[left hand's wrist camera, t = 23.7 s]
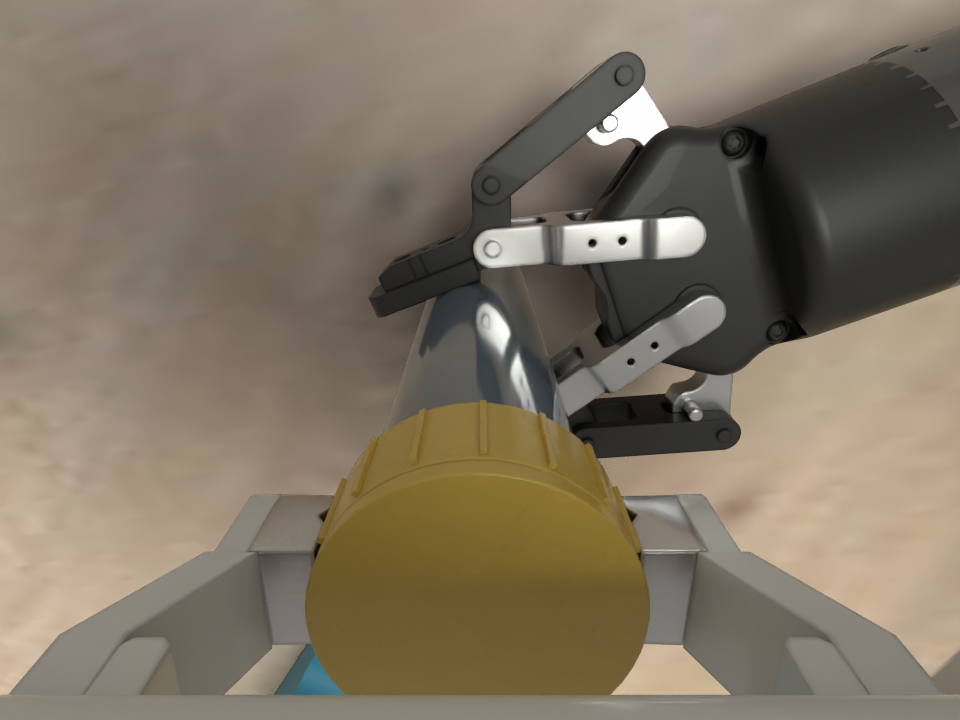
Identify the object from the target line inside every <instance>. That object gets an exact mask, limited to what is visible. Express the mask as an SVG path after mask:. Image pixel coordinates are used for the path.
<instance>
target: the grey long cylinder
mask: <svg viewBox="0 0 960 720" xmlns="http://www.w3.org/2000/svg"><path fill="white" fill-rule="evenodd" d="M480 400H486V403H495V404H502V405H508V406H514V407H517V408H521V409H524V410H528V411H531V412H534V413H536V414H539V412H542V413H544V414H546V418H548V419H550V420H552V421H554V422H555V423H557V424H559V425H561V426H562V427H564V428H566V429H567V430H568V431H570V432H571V433H572V434H573V430H572V427H571V424H570V421H569V418H568V415H567V411H566V408H565V405H564V402H563V399H562V396H561V392H560V389H559V386H558V383H557V380H556V377H555V373H554V370H553V367H552V364H551V361H550V358H549V354H548V351H547V348H546V345H545V342H544V339H543V335H542V332H541V329H540V326H539V323H538V320H537V316H536V313H535V310H534V307H533V304H532V300H531V297H530V294H529V291H528V288H527V285H526V281H525V278H524V275H523V272H522V270H521V268H520V266H512V267H500V268H486V269H484V270H481V279H480V280H478V281H475V282H473V283H470V284H468V285H465V286H462V287H459V288H456V289H453V290H451V291H449V292H447V293H444V294H442V295H439V296H437V297H434V298H431V299H429V300H426V303H425V306H424V309H423V312H422V316H421V319H420V322H419V325H418V328H417V331H416V334H415V337H414V340H413V343H412V346H411V349H410V352H409V355H408V359H407V362H406V365H405V368H404V371H403V374H402V377H401V380H400V383H399V386H398V389H397V392H396V395H395V398H394V401H393V405H392V408H391V411H390V414H389V417H388V420H387V423H386V426H385V429H384V432H383V433H385V432H386V431H388V430H389V429H391V428H392V427H394V426H395V425H397V424H398V423H400V422H402V421H404V420H406V419H408V418H410V417H412V416H414V415H417V414H419V410H422V409H426V411H428V410H431V409H434V408H438V407H443V406H448V405H452V404H462V403H480ZM573 435H574V434H573Z"/></svg>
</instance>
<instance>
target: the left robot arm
mask: <svg viewBox="0 0 960 720" xmlns="http://www.w3.org/2000/svg"><path fill="white" fill-rule="evenodd" d="M621 497H622V500H623V502H624V505H625V507H626V510H627V512H628V515H629V517H630V520H631V523H632V525H633V528H634V530H635V533H636V535H637V538H638V540H639V543H640V545H641V548H642V549H641V552H639V553H637V554H638V556H639V559H640V562H641V564H642V567H643V570H644V573H645V576H646V579H647V583H648V589H649V595H650V619H649V624H648V630H647V636H646V638H645V641H644V644H665V645H684V646H683V648H684V649H685V650H686V651H687V652H688V653H689V654H690V655H691V656H693V657H694V658H695V659H696V660H697V661H698V662H699V663H700V664H701V665H702V666H703V667H704V668H705V669H706V670H707V671H708V672H709V673H710V674H711V675H712V676H713V677H714V678H715V679H716V680H717V681H718V682H719V683H720V684H721V685H722V686H723V687H724V688H725V689H726V690H727V691H728V692H729V693H730V694H731V695H224V694H225V693H226V692H227V691H228V690H229V689H230V688H231V687H232V686H233V685H234V684H235V683H236V682H237V681H238V680H239V679H241V678H242V677H243V676H244V675H245V674H246V673H247V672H248V671H249V670H250V669H251V668H252V667H253V666H254V665H255V664H256V663H257V662H258V661H259V660H260V659H261V658H262V657H263V656H264V655H265V654H266V653H267V652H268V651H269V650H270V649H272V645H290V644H311V641H310V637H309V634H308V630H307V626H306V615H305V598H306V588H307V584H308V580H309V576H310V572H311V569H312V567H313V564H314V562H315V559H316V557H317V554H318V551H319V549H320V546H321V544H318V543H316V541H317V539H318V536H319V534H320V531H321V529H322V526H323V524H324V521H325V519H326V516H327V514H328V511H329V509H330V506H331V504H332V501H333V499H334V495H286V494H284V495H281V494H255V495H253V496H251V497H250V498H249V499H248V500H247V502H246V503H245V505H244V506H243V508H242V509H241V511H240V513H239V514H238V516H237V517H236V519H235V520H234V522H233V523H232V525H231V526H230V528H229V530H228V531H227V533H226V534H225V536H224V537H223V539H222V540H221V542H220V543H219V545H218V547H217V548H216V550H215V551H214V552H204V553H202V554H201V555H199V556H197V557H195V558H194V559H192V560H190V561H188V562H187V563H185V564H183V565H181V566H179V567H178V568H176V569H174V570H172V571H171V572H169V573H167V574H165V575H164V576H162V577H160V578H158V579H157V580H155V581H153V582H151V583H150V584H148V585H146V586H144V587H142V588H141V589H139V590H137V591H135V592H134V593H132V594H130V595H128V596H127V597H125V598H123V599H121V600H120V601H118V602H116V603H114V604H113V605H111V606H109V607H107V608H105V609H104V610H102V611H100V612H98V613H97V614H95V615H93V616H91V617H90V618H88V619H86V620H84V621H83V622H81V623H79V624H77V625H76V626H74V627H72V628H70V629H68V630H67V631H65V632H63V633H61V634H60V635H59V636H58V637H57V638H56V639H55V640H54V642H53V643H52V644H51V645H50V646H49V647H48V649H47V650H46V651H45V652H44V653H43V654H42V656H41V657H40V658H39V659H38V660H37V662H36V663H35V664H34V665H33V666H32V667H31V669H30V670H29V671H28V672H27V673H26V674H25V676H24V677H23V678H22V679H21V680H20V682H19V683H18V684H17V685H16V686H15V687H14V689H13V690H12V691H11V692H10V693H9V694H8V695H0V720H960V695H945V694H944V693H943V692H942V690H941V689H940V688H939V687H938V686H937V684H936V683H935V682H934V681H933V680H932V678H931V677H930V676H929V675H928V674H927V672H926V671H925V670H924V669H923V668H922V666H921V665H920V664H919V663H918V662H917V660H916V659H915V658H914V657H913V656H912V654H911V653H910V652H909V651H908V650H907V648H906V647H905V646H904V645H903V644H902V642H901V641H900V640H899V639H898V638H897V636H896V635H894V634H892V633H890V632H889V631H887V630H885V629H883V628H882V627H880V626H878V625H876V624H875V623H873V622H871V621H870V620H868V619H866V618H864V617H863V616H861V615H859V614H857V613H856V612H854V611H852V610H850V609H849V608H847V607H845V606H843V605H842V604H840V603H838V602H836V601H835V600H833V599H831V598H829V597H828V596H826V595H824V594H822V593H821V592H819V591H817V590H815V589H814V588H812V587H810V586H809V585H807V584H805V583H803V582H802V581H800V580H798V579H796V578H795V577H793V576H791V575H789V574H788V573H786V572H784V571H782V570H781V569H779V568H777V567H775V566H774V565H772V564H770V563H768V562H767V561H765V560H763V559H761V558H760V557H758V556H756V555H755V554H753V553H751V552H741V551H740V549H739V548H738V546H737V545H736V543H735V542H734V540H733V538H732V537H731V535H730V534H729V532H728V531H727V529H726V528H725V526H724V524H723V523H722V521H721V520H720V518H719V517H718V515H717V514H716V512H715V511H714V509H713V507H712V506H711V504H710V503H709V501H708V500H707V498H706V497H705V496H704V495H702V494H684V495H661V496H621Z"/></svg>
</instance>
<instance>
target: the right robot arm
mask: <svg viewBox="0 0 960 720" xmlns="http://www.w3.org/2000/svg"><path fill="white" fill-rule="evenodd" d="M644 80H645V67H644V64H643V62H642V60H641V59H640V58H639V57H638V56H637V55H636V54H634V53H631V52H620V53H618V54H616V55H614V56H612V57H610V58H609V59H607V60H606V61H604V62H602V63H601V64H599V65H598V66H596V67H595V68H594V69H593V70H591V71H590V72H589V73H588V74H587V75H585V76H584V77H583V78H582V79H581V80H579V81H578V82H577V83H576V84H575V85H574V86H572V87H571V88H570V89H569V90H568V91H566V92H565V93H564V94H563V95H562V96H560V97H559V98H558V99H557V100H556V101H555V102H553V103H552V104H551V105H550V106H549V107H547V108H546V109H545V110H544V111H543V112H541V113H540V114H539V115H538V116H537V117H536V118H534V119H533V120H532V121H531V122H530V123H528V124H527V125H526V126H525V127H524V128H522V129H521V130H520V131H519V132H518V133H517V134H515V135H514V136H513V137H512V138H511V139H509V140H508V141H507V142H506V143H505V144H503V145H502V146H501V147H500V148H499V149H498V150H496V151H495V152H494V153H493V154H492V155H490V156H489V157H488V158H487V159H486V160H484V161H483V162H482V163H481V164H480V165H479V166H478V167H477V168H476V169H475V171H474V173H473V177H472V183H471V188H472V219H471V221H470V223H469V225H468V226H467V227H466V228H465V229H464V230H463V231H461V232H459V233H457V234H455V235H452V236H450V237H447V238H445V239H442V240H440V241H437V242H435V243H432V244H430V245H427V246H425V247H423V248H420V249H417V250H415V251H412V252H410V253H407V254H405V255H402V256H400V257H397V258H395V259H394V260H393V261H392V262H391V263H390V264H389V265H388V266H387V267H386V268H385V269H384V271H383V272H382V274H381V275H380V276H379V280H380V282H381V285H379V286H378V287H376V288H375V289H374V291H373V292H372V294H371V295H370V297H369V300H370V302H371V304H372V306H373V308H374V311H375V313H376V315H377V317H384V316H387V315H390V314H393V313H395V312H398V311H400V310H403V309H406V308H408V307H411V306H413V305H416V304H419V303H421V302H424V301H426V300H429V299H431V298H434V297H437V296H439V295H442V294H444V293H447V292H449V291H451V290H453V289H456V288H459V287H462V286H465V285H468V284H470V283H473V282H475V281H478V280H480V279H481V270H484V269H486V268H500V267H512V266H524V265H536V264H551V265H561V266H562V265H576V264H582V266H583V268H584V269H585V271H586V272H587V274H588V275H589V277H590V278H591V280H592V281H593V283H594V284H595V292H596V308H597V311H598V314H599V317H600V318H599V319H598V320H597V321H595V322H594V323H592V324H591V325H590V326H588V327H587V328H586V329H584V330H583V331H582V332H580V333H579V334H578V335H577V337H576V338H575V340H574V342H573V343H572V344H571V345H570V346H568V347H567V348H566V349H564V350H563V351H561V352H560V353H559V354H557V355H556V356H554V357H553V358H552V359H550V361H551V364H552V367H553V370H554V373H555V377H556V380H557V383H558V386H559V389H560V392H561V396H562V399H563V402H564V405H565V408H566V411H567V415H568V418H569V421H570V424H571V427H572V430H573V434H574V435H575V436H576V437H577V438H579V439H580V440H581V441H582V442H583V443H584V444H585V445H586V444H587V443H589V444H590V445H591V446H592V447H593V450H594V453H595V456H596V458H610V457H625V456H639V455H654V454H669V453H683V452H698V451H713V450H725V449H728V448H731V447H732V446H734V445H735V444H736V443H737V442H738V440H739V438H740V435H741V429H740V427H739V425H738V424H737V423H736V422H735V420H734V419H733V418H732V416H731V415H730V405H731V392H732V380H733V373H735V372H737V371H739V370H741V369H742V368H744V367H745V366H746V365H747V364H748V363H749V362H750V361H751V360H752V359H753V358H755V357H756V356H757V355H758V354H759V353H761V352H762V351H764V350H765V349H767V348H768V347H770V346H773V345H775V344H779V343H783V342H788V341H793V340H798V339H803V338H808V337H812V336H815V335H818V334H821V333H824V332H827V331H829V330H832V329H835V328H838V327H841V326H844V325H847V324H849V323H852V322H855V321H858V320H861V319H864V318H867V317H870V316H872V315H875V314H878V313H881V312H884V311H887V310H890V309H893V308H895V307H898V306H901V305H904V304H907V303H910V302H913V301H915V300H918V299H921V298H924V297H927V296H930V295H933V294H936V293H938V292H941V291H944V290H947V289H950V288H953V287H956V286H958V285H960V26H959V27H957V28H954V29H951V30H948V31H946V32H943V33H940V34H937V35H935V36H932V37H929V38H927V39H924V40H922V41H919V42H917V43H914V44H912V45H905V46H901V47H894V48H892V49H889V50H887V51H885V52H882V53H880V54H878V55H876V56H874V57H873V58H871V59H870V60H868V62H867V63H865V64H862V65H859V66H857V67H854V68H852V69H850V70H847V71H845V72H842V73H840V74H837V75H835V76H832V77H830V78H827V79H825V80H822V81H820V82H817V83H815V84H812V85H810V86H807V87H805V88H802V89H800V90H797V91H795V92H792V93H790V94H787V95H785V96H783V97H780V98H778V99H775V100H773V101H770V102H768V103H765V104H763V105H760V106H758V107H755V108H753V109H750V110H748V111H745V112H743V113H740V114H738V115H735V116H733V117H730V118H728V119H725V120H723V121H721V122H718V123H716V124H713V125H710V126H706V127H702V128H693V127H688V126H668V124H667V123H666V121H665V120H664V118H663V117H662V115H661V114H660V112H659V110H658V109H657V107H656V106H655V104H654V103H653V101H652V100H651V98H650V96H649V95H648V93H647V92H646V90H645V89H644V87H643V83H644ZM583 136H584V138H585V139H586V140H587V141H588V142H590V143H592V144H596V145H608V144H611V143H613V142H615V141H617V140H619V139H621V138H627V139H629V140H631V141H632V142H634V144H635V145H636V146H635V148H634V149H633V151H632V152H631V154H630V155H629V157H628V158H627V160H626V161H625V163H624V164H623V165H622V167H621V168H620V170H619V171H618V173H617V174H616V176H615V177H614V179H613V180H612V181H611V183H610V184H609V186H608V187H607V189H606V190H605V192H604V193H603V195H602V196H601V197H600V199H599V200H598V202H597V203H596V205H595V206H594V208H591V209H580V210H569V211H557V212H547V213H542V214H539V215H533V216H521V217H511V195H512V194H513V193H515V192H516V191H517V190H518V189H520V188H521V187H522V186H523V185H524V184H526V183H527V182H528V181H529V180H531V179H532V178H533V177H534V176H535V175H537V174H538V173H539V172H540V171H542V170H543V169H544V168H545V167H547V166H548V165H549V164H550V163H551V162H553V161H554V160H555V159H556V158H558V157H559V156H560V155H561V154H562V153H564V152H565V151H566V150H567V149H569V148H570V147H571V146H572V145H574V144H575V143H576V142H577V141H578V140H580V139H581V138H582V137H583ZM628 359H629V360H628ZM660 362H661V363H666V364H670V365H674V366H678V367H682V368H686V369H690V370H694V371H696V372H695V374H694V375H693V376H692V377H691V378H689V379H688V380H685V381H682V382H677V383H673V384H672V385H671V386H670V387H669V389H668V390H667V392H666V394H656V395H641V396H627V397H613V398H599V399H595V398H596V397H598V396H599V395H601V394H603V393H613V392H616V391H618V390H620V389H622V388H623V387H625V386H626V385H627V384H629V383H630V382H632V381H633V380H635V379H636V378H638V377H639V376H641V375H642V374H644V373H645V372H647V371H648V370H650V369H651V368H653V367H654V366H655V365H657V364H658V363H660Z"/></svg>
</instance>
